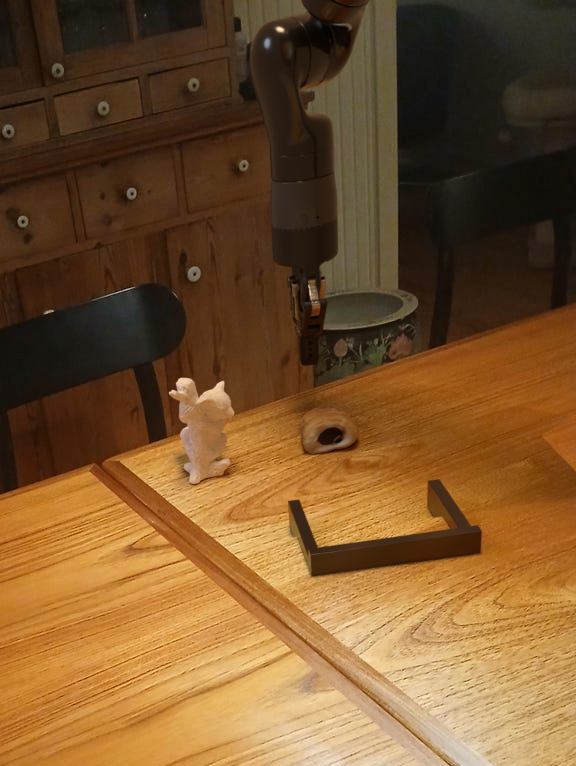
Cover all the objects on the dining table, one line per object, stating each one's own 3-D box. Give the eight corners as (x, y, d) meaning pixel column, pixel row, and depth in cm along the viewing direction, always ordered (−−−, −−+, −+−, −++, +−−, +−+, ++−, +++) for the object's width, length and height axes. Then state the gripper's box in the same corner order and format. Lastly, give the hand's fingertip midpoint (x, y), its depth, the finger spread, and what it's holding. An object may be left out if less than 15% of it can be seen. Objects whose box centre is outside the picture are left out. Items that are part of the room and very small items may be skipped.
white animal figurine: (197, 493, 113) (185, 393, 106) (160, 477, 118) (147, 381, 111) (251, 466, 116) (243, 368, 110) (214, 452, 121) (204, 357, 115)
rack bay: (438, 504, 102) (439, 469, 100) (479, 568, 91) (482, 530, 89) (289, 526, 103) (287, 491, 101) (312, 591, 92) (310, 555, 90)
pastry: (294, 426, 124) (292, 397, 122) (348, 419, 123) (348, 389, 121) (304, 457, 116) (302, 426, 114) (362, 449, 115) (362, 419, 113)
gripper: (349, 224, 107) (350, 376, 117) (325, 200, 118) (328, 341, 128) (280, 235, 108) (287, 386, 118) (263, 210, 119) (271, 350, 129)
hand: (309, 362), depth 123 cm, fingers closed
